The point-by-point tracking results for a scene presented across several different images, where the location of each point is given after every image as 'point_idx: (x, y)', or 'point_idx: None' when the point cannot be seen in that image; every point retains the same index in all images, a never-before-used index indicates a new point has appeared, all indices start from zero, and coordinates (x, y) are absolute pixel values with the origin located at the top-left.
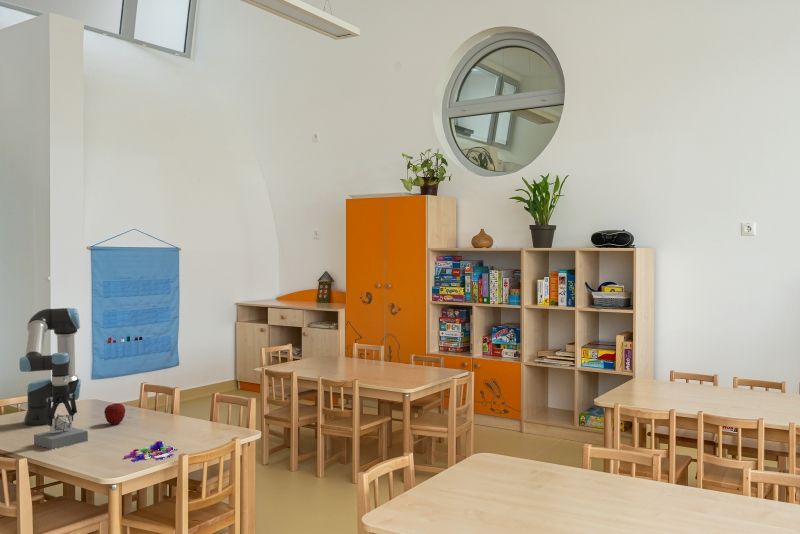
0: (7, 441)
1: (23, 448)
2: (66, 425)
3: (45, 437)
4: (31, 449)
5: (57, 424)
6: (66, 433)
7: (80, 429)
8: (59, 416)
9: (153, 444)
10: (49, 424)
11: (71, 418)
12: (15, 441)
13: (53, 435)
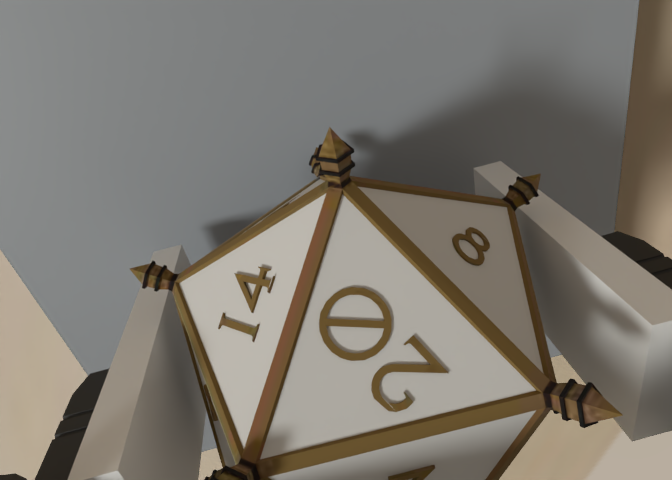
0: (589, 467)
1: (662, 202)
2: (270, 215)
3: (630, 72)
4: (652, 101)
5: (495, 220)
6: (281, 107)
7: (6, 237)
8: (456, 472)
9: None
10: (653, 264)
11: (102, 404)
12: (560, 443)
13: (488, 121)
